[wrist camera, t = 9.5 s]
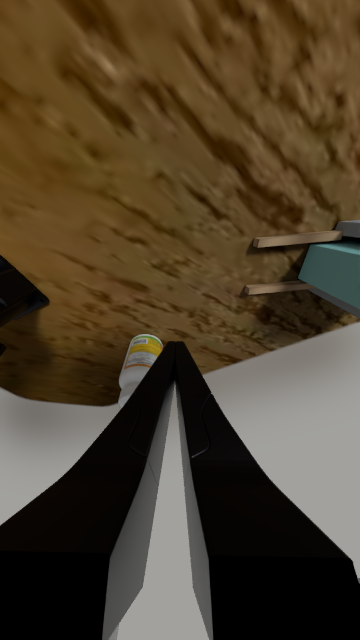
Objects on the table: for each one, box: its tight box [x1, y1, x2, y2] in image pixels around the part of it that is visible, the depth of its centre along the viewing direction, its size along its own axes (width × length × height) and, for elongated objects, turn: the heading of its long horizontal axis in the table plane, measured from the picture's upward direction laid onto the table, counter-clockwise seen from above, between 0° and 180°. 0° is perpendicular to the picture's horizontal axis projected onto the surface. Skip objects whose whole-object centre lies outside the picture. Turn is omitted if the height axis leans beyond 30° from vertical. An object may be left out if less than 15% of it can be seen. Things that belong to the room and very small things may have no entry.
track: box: [245, 230, 345, 295], centre depth 18 cm, size 9×6×1 cm
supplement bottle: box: [118, 334, 163, 408], centre depth 22 cm, size 5×5×10 cm
